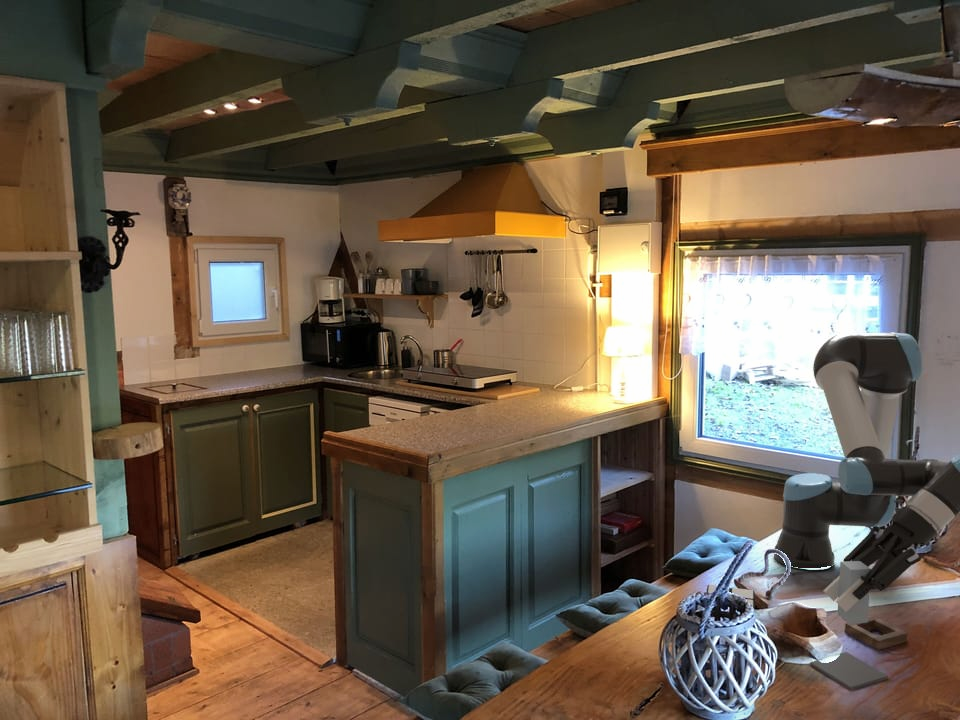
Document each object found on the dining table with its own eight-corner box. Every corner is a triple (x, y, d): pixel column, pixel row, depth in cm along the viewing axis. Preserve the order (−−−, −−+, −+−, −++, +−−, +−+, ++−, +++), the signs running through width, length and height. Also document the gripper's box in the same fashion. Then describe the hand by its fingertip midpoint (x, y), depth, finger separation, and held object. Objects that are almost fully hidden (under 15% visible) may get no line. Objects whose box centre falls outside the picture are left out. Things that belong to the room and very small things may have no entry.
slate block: (837, 613, 156) (840, 561, 154) (856, 613, 156) (860, 560, 155) (847, 623, 152) (851, 569, 150) (867, 622, 152) (871, 569, 151)
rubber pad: (810, 664, 158) (810, 662, 158) (846, 654, 162) (846, 651, 162) (850, 690, 149) (850, 687, 149) (887, 678, 153) (888, 675, 153)
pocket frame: (844, 631, 172) (845, 623, 172) (872, 624, 175) (873, 615, 175) (878, 649, 164) (878, 640, 164) (907, 641, 167) (907, 632, 167)
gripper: (962, 547, 144) (870, 634, 145) (907, 516, 161) (825, 594, 162) (937, 520, 143) (844, 608, 144) (884, 492, 160) (801, 571, 161)
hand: (834, 601), depth 153 cm, fingers closed on slate block, 4 cm apart
